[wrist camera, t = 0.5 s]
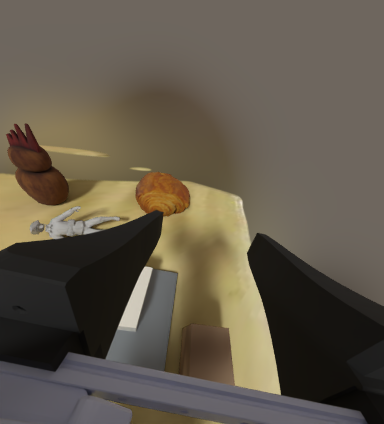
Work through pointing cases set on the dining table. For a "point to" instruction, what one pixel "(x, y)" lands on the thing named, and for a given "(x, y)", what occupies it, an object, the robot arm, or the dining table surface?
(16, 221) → the dining table surface
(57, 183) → the wooden figurine
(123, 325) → the cream block
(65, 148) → the dining table surface
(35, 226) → the soldier figure
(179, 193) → the croissant
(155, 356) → the slate board
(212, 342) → the walnut cube
